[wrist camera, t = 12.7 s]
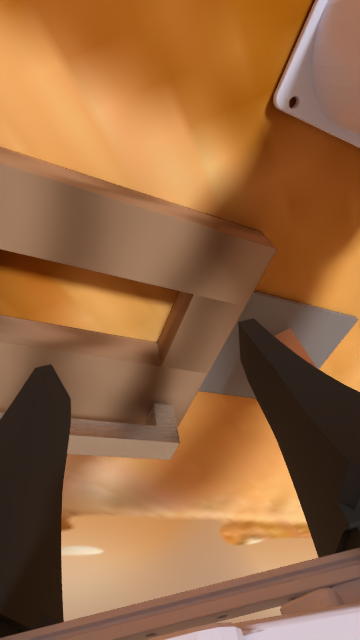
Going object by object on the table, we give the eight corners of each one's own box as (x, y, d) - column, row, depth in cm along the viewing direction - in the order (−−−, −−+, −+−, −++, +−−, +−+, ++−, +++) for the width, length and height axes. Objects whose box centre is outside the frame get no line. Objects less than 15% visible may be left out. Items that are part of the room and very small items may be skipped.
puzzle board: (261, 231, 21) (277, 249, 19) (172, 404, 30) (176, 428, 28) (-139, 101, 14) (-179, 108, 12) (-103, 373, 23) (-123, 402, 21)
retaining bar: (173, 405, 25) (179, 443, 23) (164, 421, 26) (170, 459, 24) (-61, 378, 20) (-85, 423, 18) (-60, 400, 21) (-83, 445, 19)
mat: (355, 316, 27) (358, 319, 26) (289, 399, 32) (291, 403, 32) (246, 288, 23) (248, 291, 23) (193, 386, 29) (194, 390, 28)
